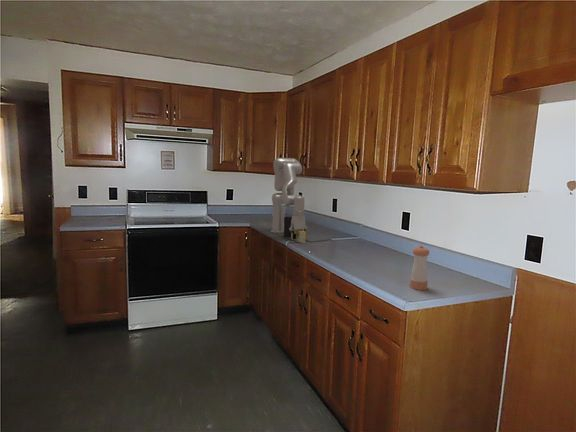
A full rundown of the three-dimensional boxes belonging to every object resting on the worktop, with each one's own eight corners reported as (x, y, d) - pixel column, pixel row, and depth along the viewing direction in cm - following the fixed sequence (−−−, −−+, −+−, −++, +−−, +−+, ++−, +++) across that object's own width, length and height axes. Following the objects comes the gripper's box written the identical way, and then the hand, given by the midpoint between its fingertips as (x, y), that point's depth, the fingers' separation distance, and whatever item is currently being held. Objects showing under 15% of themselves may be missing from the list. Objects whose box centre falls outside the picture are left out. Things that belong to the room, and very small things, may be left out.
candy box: (305, 243, 255) (306, 231, 254) (303, 243, 254) (303, 232, 252) (293, 239, 268) (293, 228, 267) (290, 239, 267) (291, 228, 266)
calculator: (298, 236, 279) (299, 217, 277) (297, 237, 275) (298, 217, 273) (285, 235, 282) (285, 216, 280) (283, 236, 278) (283, 217, 275)
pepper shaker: (420, 291, 160) (423, 248, 158) (406, 286, 166) (409, 245, 164) (430, 288, 165) (433, 246, 162) (416, 283, 170) (419, 243, 168)
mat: (300, 239, 267) (300, 238, 267) (321, 237, 278) (321, 236, 278) (311, 242, 258) (311, 241, 257) (331, 239, 268) (331, 238, 268)
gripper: (305, 212, 266) (304, 236, 269) (285, 213, 256) (285, 238, 259) (311, 213, 260) (310, 238, 263) (291, 215, 250) (291, 240, 253)
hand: (298, 238), depth 261 cm, fingers open, 6 cm apart
